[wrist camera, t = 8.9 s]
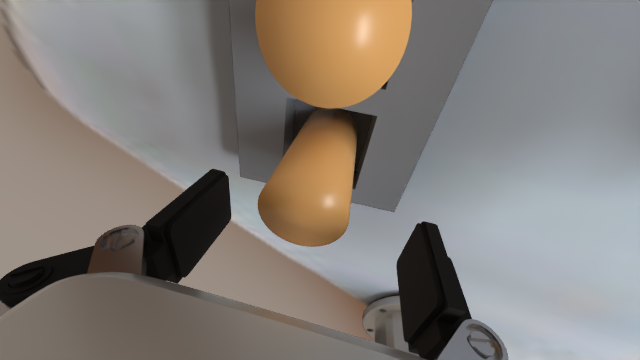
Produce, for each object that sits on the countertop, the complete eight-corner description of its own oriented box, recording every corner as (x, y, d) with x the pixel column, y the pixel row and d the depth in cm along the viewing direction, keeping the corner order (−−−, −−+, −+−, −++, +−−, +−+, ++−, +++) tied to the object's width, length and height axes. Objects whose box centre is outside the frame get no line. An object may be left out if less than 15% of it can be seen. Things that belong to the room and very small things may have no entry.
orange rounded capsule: (377, 63, 14) (387, 117, 7) (313, 55, 15) (260, 98, 7) (395, -24, 12) (439, -75, 5) (318, -31, 12) (247, -90, 5)
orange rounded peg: (363, 112, 16) (359, 189, 9) (351, 161, 18) (338, 254, 11) (307, 100, 16) (257, 166, 9) (302, 150, 19) (258, 234, 11)
